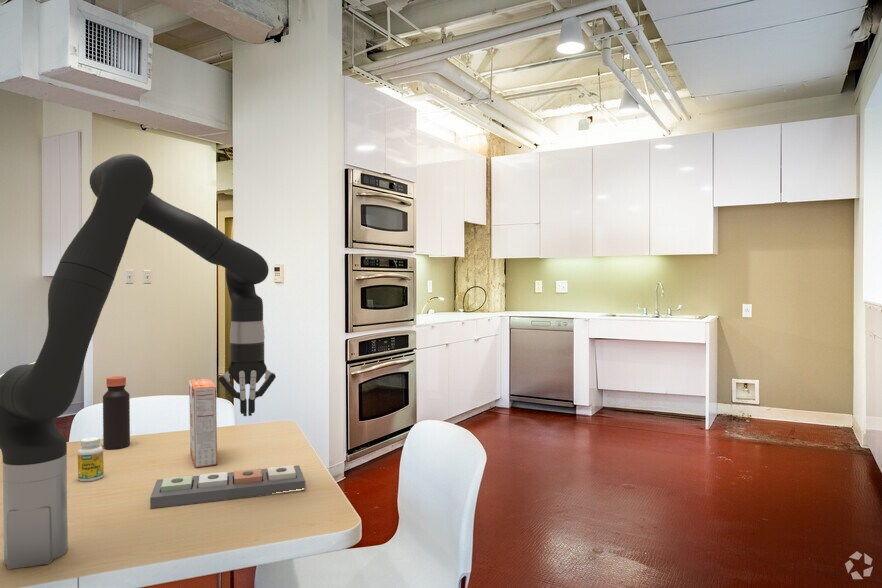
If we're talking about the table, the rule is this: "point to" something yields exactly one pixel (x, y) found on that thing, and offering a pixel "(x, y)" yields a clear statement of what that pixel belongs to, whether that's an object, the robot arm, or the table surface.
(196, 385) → the cracker box
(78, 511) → the table surface
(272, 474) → the key cream
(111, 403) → the vinegar
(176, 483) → the key sage
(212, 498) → the grey flat board
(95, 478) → the supplement bottle
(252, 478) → the key terracotta
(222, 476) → the key white
